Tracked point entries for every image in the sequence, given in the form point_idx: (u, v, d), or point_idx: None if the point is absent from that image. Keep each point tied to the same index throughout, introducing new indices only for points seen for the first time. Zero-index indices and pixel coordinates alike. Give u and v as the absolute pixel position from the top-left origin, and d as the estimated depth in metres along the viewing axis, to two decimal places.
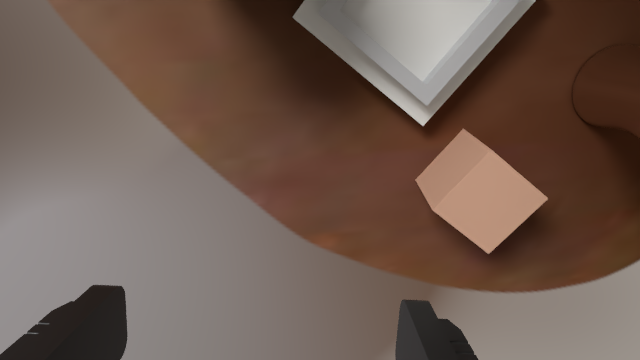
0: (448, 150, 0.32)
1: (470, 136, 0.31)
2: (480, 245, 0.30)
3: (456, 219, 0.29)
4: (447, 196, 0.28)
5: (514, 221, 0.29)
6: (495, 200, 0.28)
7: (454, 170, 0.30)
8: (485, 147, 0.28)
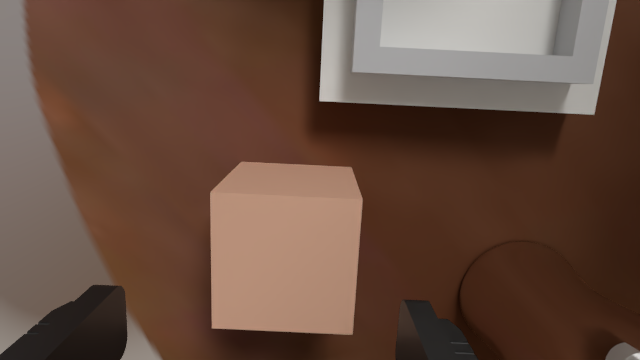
0: (311, 168, 0.20)
1: (351, 175, 0.19)
2: (214, 306, 0.16)
3: (224, 239, 0.15)
4: (248, 197, 0.15)
5: (287, 320, 0.16)
6: (296, 269, 0.16)
7: (293, 184, 0.17)
8: (357, 193, 0.16)
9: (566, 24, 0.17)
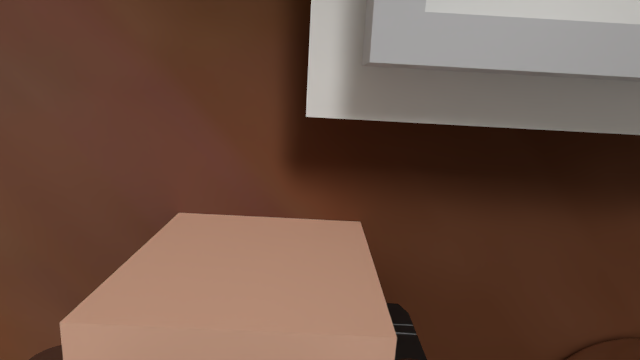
0: (294, 228, 0.12)
1: (363, 247, 0.11)
2: None
3: None
4: (144, 334, 0.07)
5: None
6: None
7: (254, 279, 0.09)
8: (382, 310, 0.08)
9: None
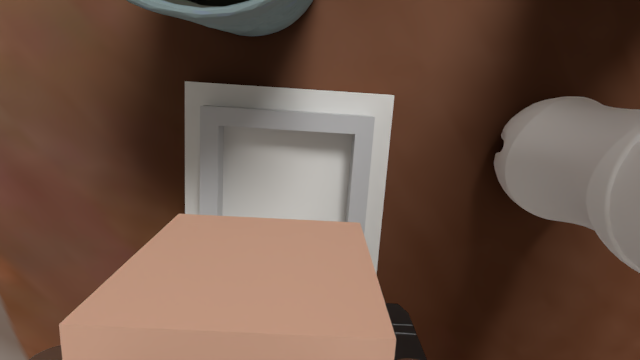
0: (294, 229, 0.12)
1: (362, 248, 0.11)
2: None
3: None
4: (144, 335, 0.07)
5: None
6: None
7: (254, 280, 0.09)
8: (382, 312, 0.08)
9: None
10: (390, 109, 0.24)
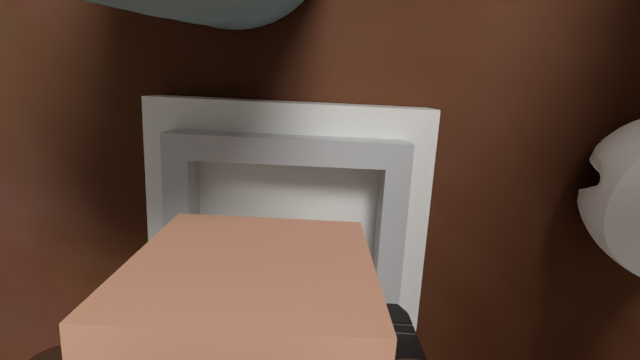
0: (294, 228, 0.12)
1: (363, 248, 0.11)
2: None
3: None
4: (144, 335, 0.07)
5: None
6: None
7: (253, 281, 0.09)
8: (382, 311, 0.08)
9: None
10: (434, 130, 0.17)
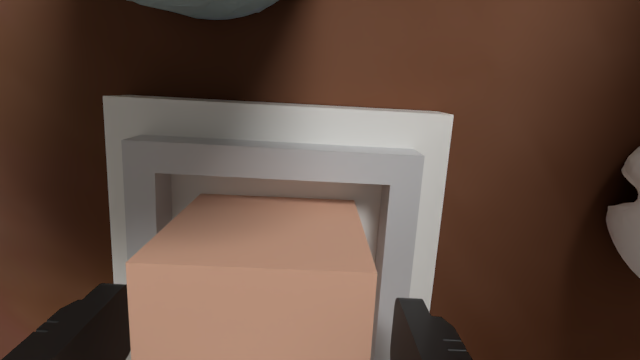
0: (298, 204, 0.14)
1: (355, 218, 0.13)
2: None
3: (151, 337, 0.09)
4: (188, 271, 0.09)
5: None
6: None
7: (267, 238, 0.11)
8: (367, 257, 0.10)
9: None
10: (446, 138, 0.15)
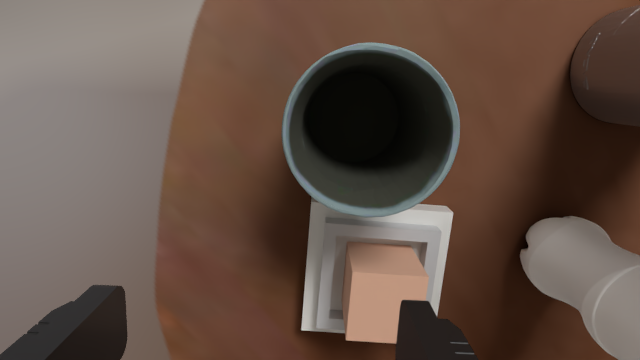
0: (389, 248, 0.35)
1: (414, 255, 0.34)
2: (348, 329, 0.31)
3: (357, 295, 0.30)
4: (371, 275, 0.30)
5: (385, 336, 0.31)
6: (392, 310, 0.31)
7: (388, 263, 0.32)
8: (424, 271, 0.31)
9: None
10: (450, 221, 0.35)
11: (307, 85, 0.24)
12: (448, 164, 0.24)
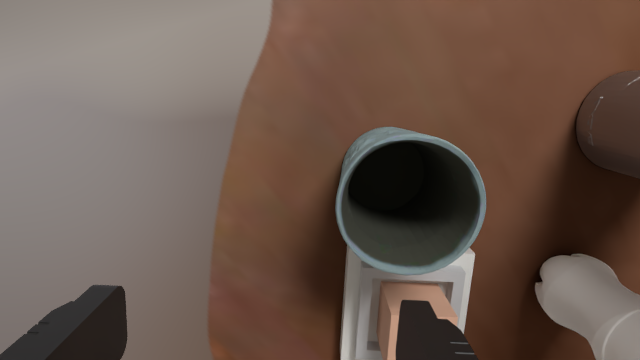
0: (419, 287, 0.39)
1: (442, 294, 0.38)
2: None
3: (395, 334, 0.35)
4: None
5: None
6: None
7: None
8: (453, 312, 0.35)
9: None
10: (472, 262, 0.40)
11: (355, 166, 0.29)
12: (476, 230, 0.29)
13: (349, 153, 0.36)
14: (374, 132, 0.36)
